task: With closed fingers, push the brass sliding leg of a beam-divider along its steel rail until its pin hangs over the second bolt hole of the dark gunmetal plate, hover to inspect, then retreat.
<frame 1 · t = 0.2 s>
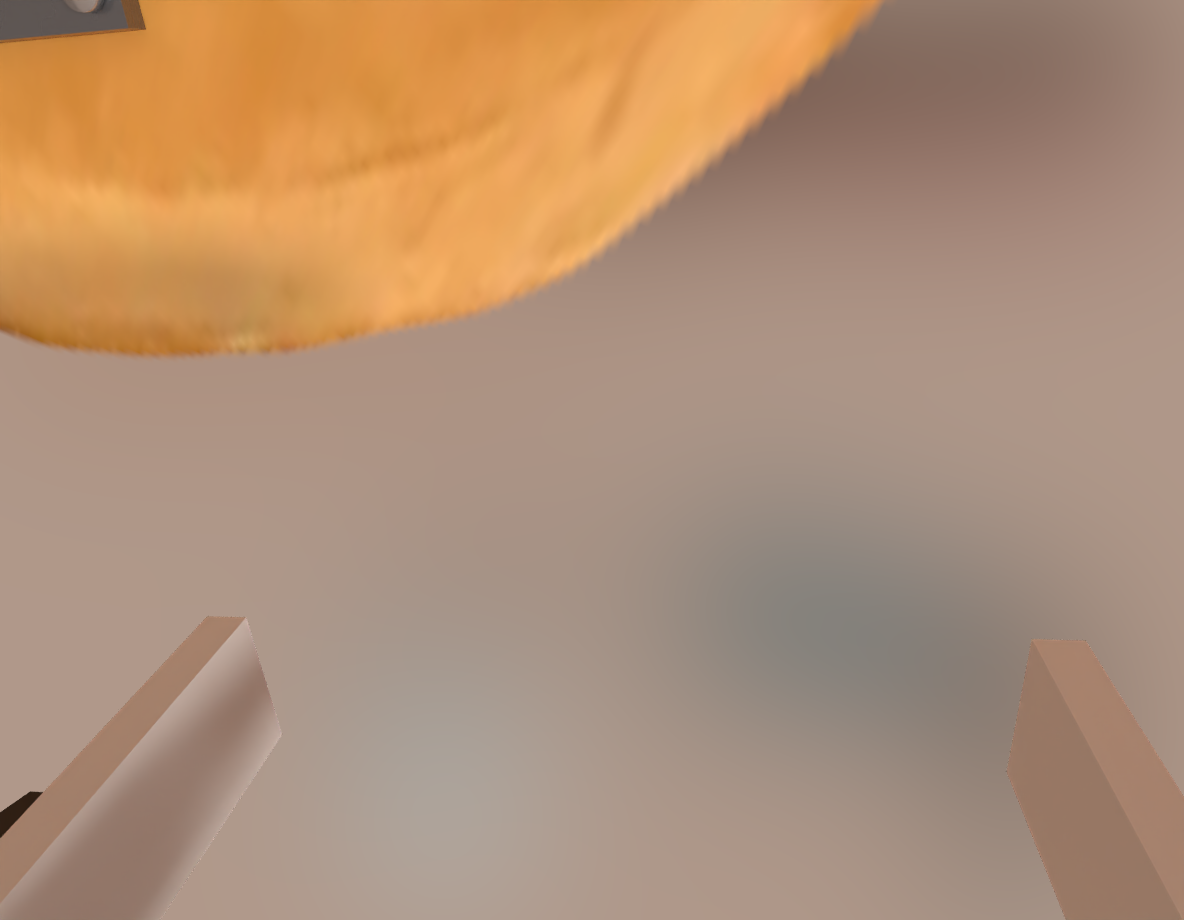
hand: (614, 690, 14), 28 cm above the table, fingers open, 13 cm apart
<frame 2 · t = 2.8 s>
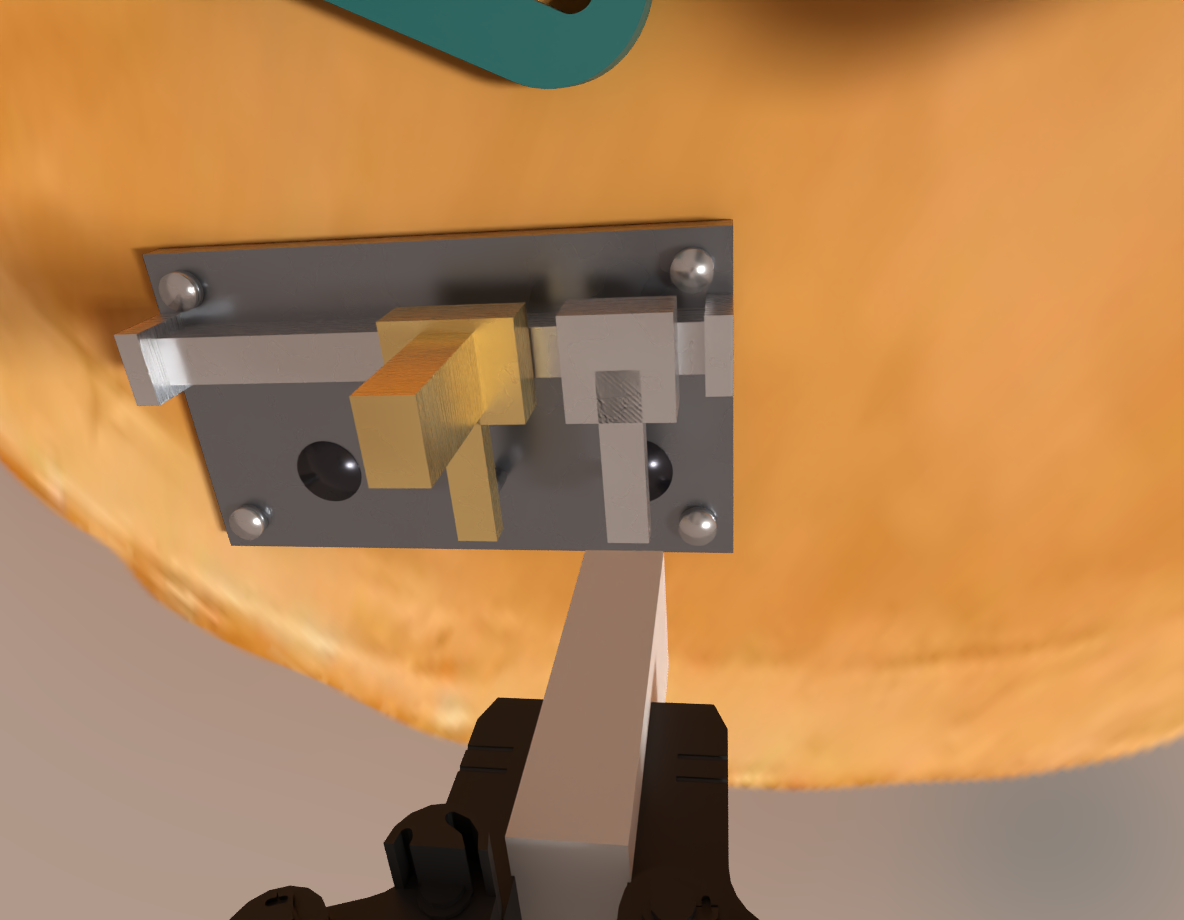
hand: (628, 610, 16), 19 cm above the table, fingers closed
bolt plate: (454, 397, 36), on the table
divider rail: (444, 331, 35), resting on bolt plate
sliding leg: (452, 449, 30), point 6 cm above the table, slide at 0.0 cm
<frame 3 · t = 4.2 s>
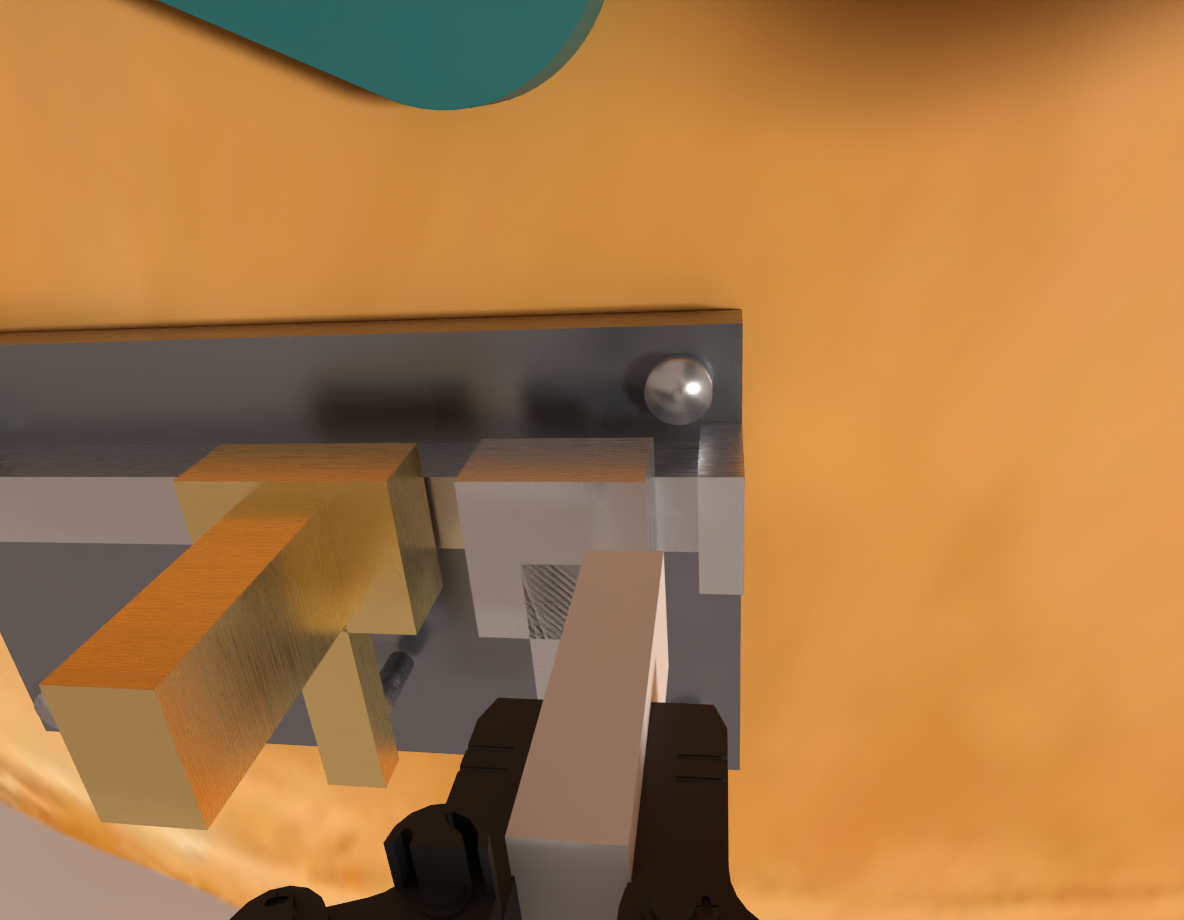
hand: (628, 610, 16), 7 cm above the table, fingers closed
bolt plate: (340, 547, 25), on the table
divider rail: (319, 458, 24), resting on bolt plate
sliding leg: (299, 679, 19), point 7 cm above the table, slide at 0.0 cm
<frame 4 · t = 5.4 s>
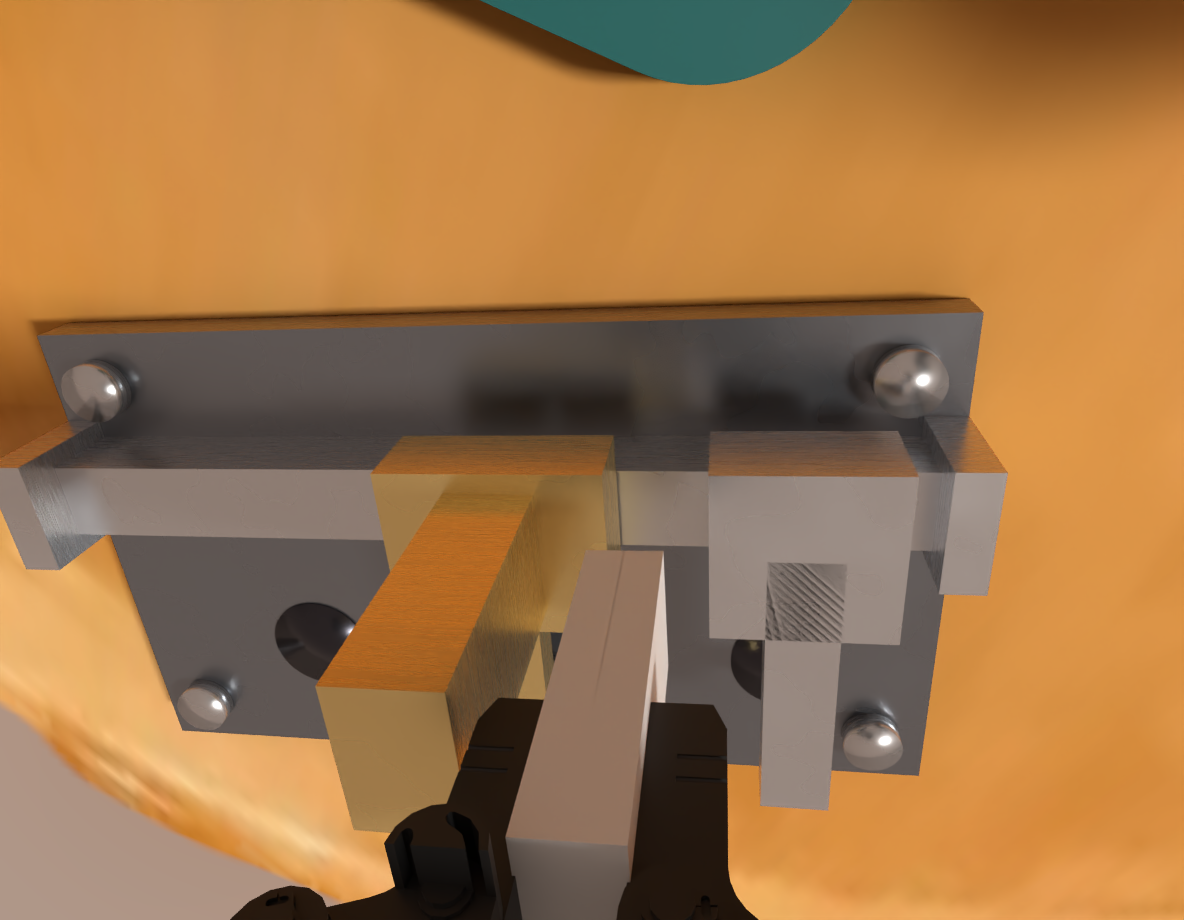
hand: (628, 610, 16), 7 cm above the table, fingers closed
bolt plate: (508, 543, 24), on the table
divider rail: (496, 451, 23), resting on bolt plate
sliding leg: (495, 679, 18), point 7 cm above the table, slide at 0.7 cm, touching gripper
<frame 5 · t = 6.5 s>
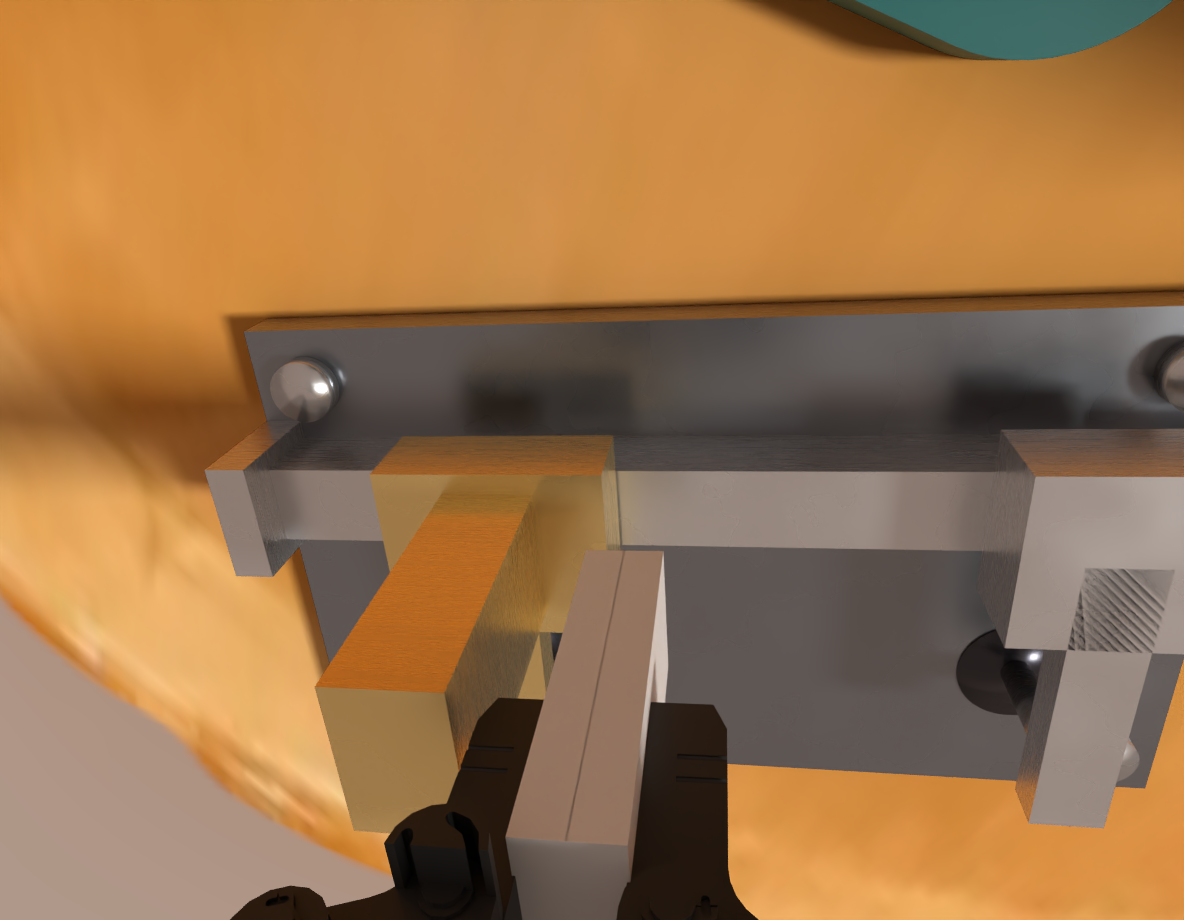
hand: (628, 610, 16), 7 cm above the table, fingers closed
bolt plate: (716, 547, 23), on the table
divider rail: (715, 451, 22), resting on bolt plate
sliding leg: (495, 680, 18), point 6 cm above the table, slide at 6.7 cm, touching gripper
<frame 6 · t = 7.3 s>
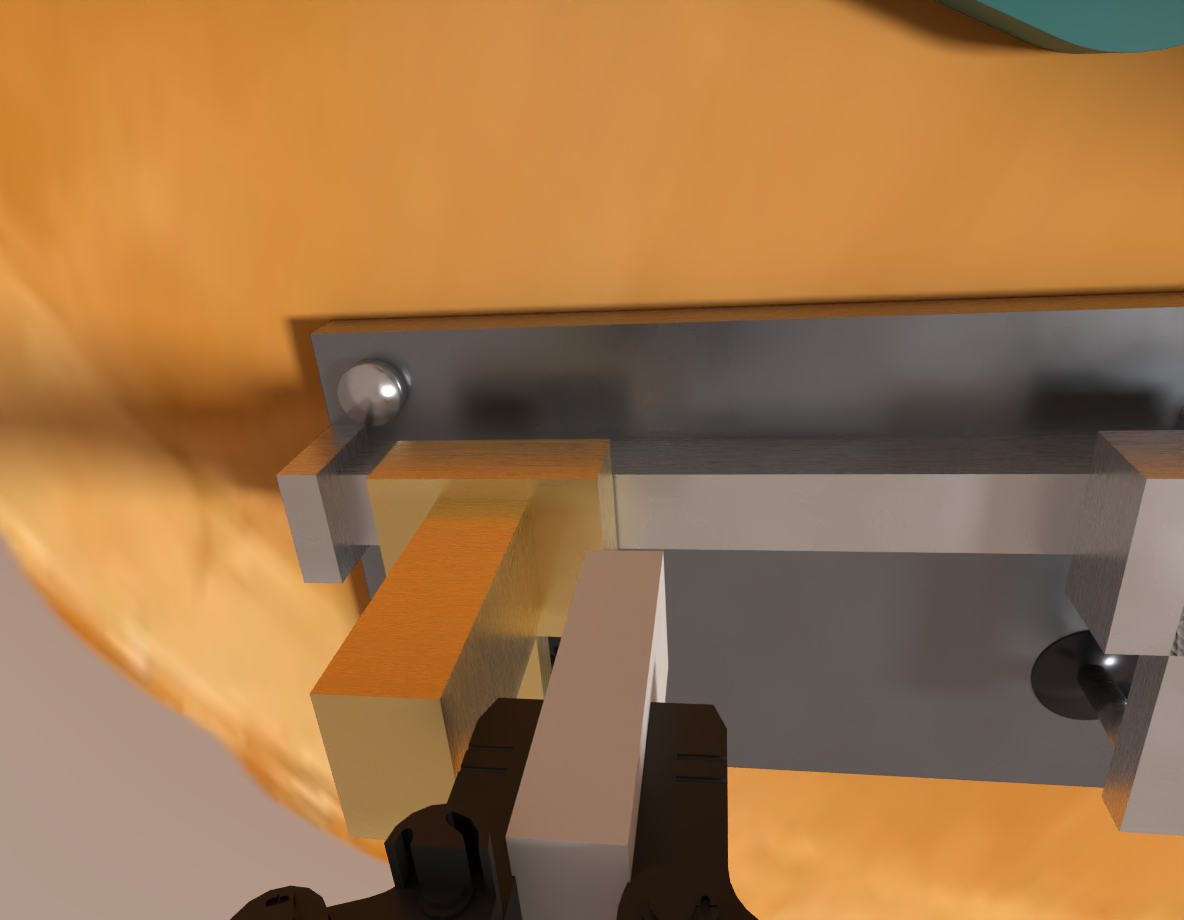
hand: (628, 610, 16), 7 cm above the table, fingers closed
bolt plate: (784, 551, 23), on the table
divider rail: (787, 454, 22), resting on bolt plate
sliding leg: (492, 684, 18), point 7 cm above the table, slide at 8.7 cm, touching gripper
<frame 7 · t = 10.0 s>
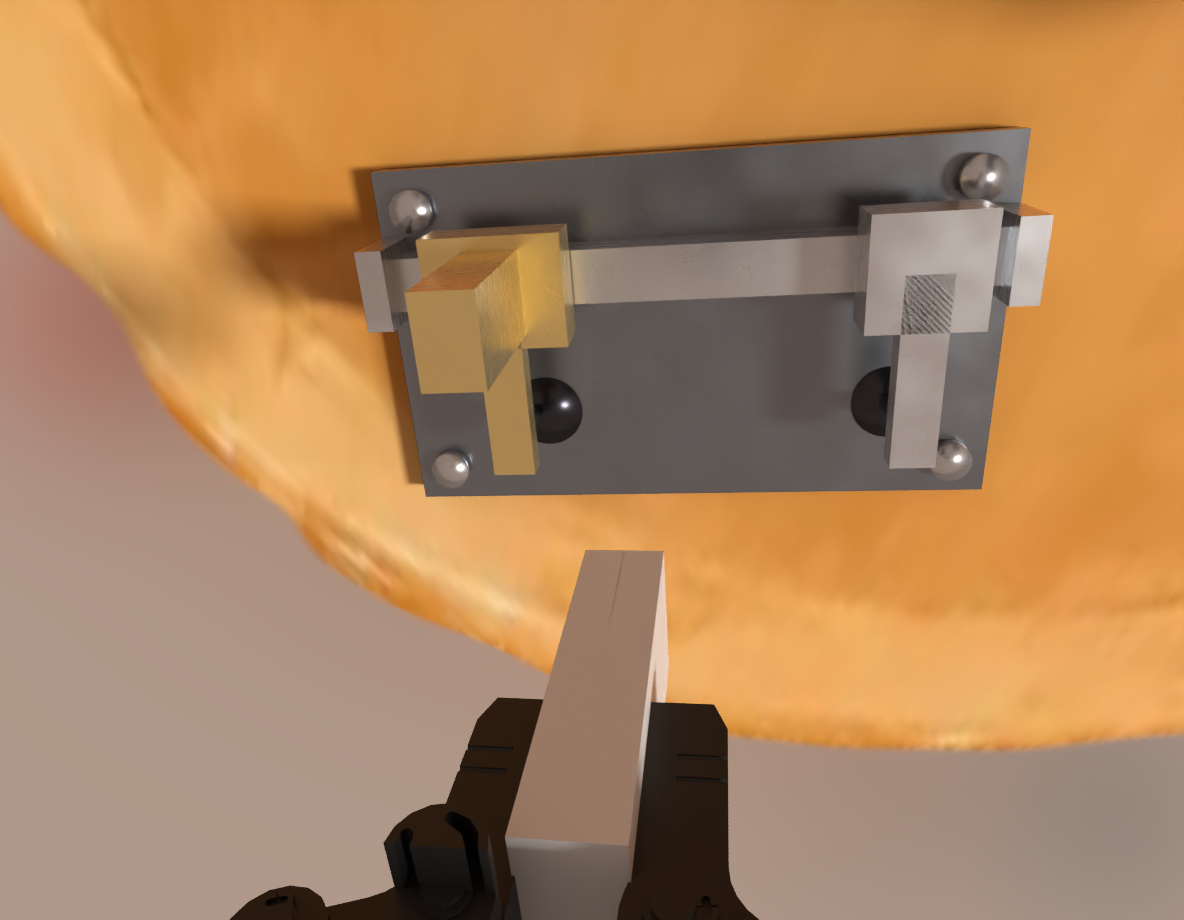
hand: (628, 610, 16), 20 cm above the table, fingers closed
bolt plate: (688, 329, 34), on the table
divider rail: (686, 255, 33), resting on bolt plate
sliding leg: (494, 372, 29), point 7 cm above the table, slide at 8.7 cm
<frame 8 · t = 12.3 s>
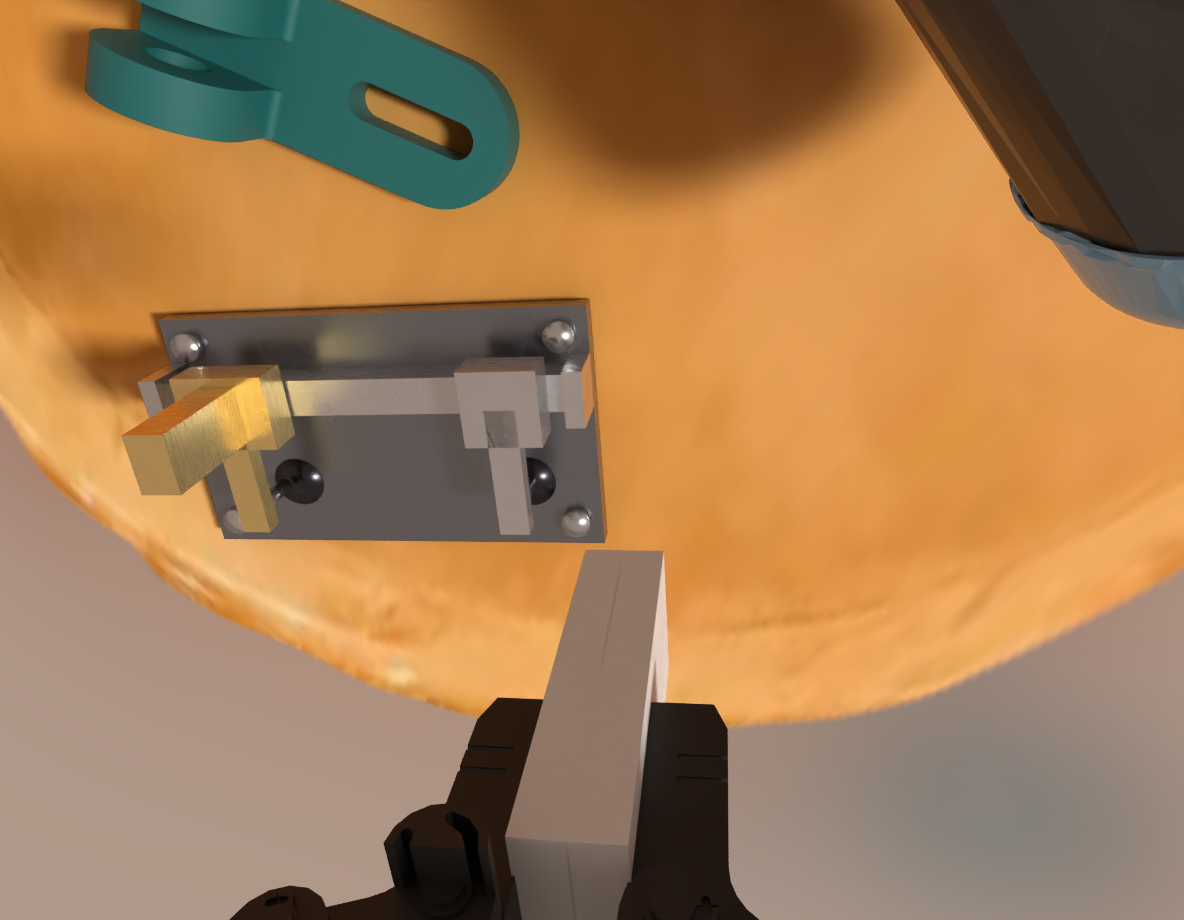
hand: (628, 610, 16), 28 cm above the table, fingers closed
bolt plate: (393, 425, 47), on the table
bracket: (347, 83, 40), on the table
divider rail: (384, 376, 46), resting on bolt plate
sliding leg: (224, 467, 43), point 7 cm above the table, slide at 8.7 cm
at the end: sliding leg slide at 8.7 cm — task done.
